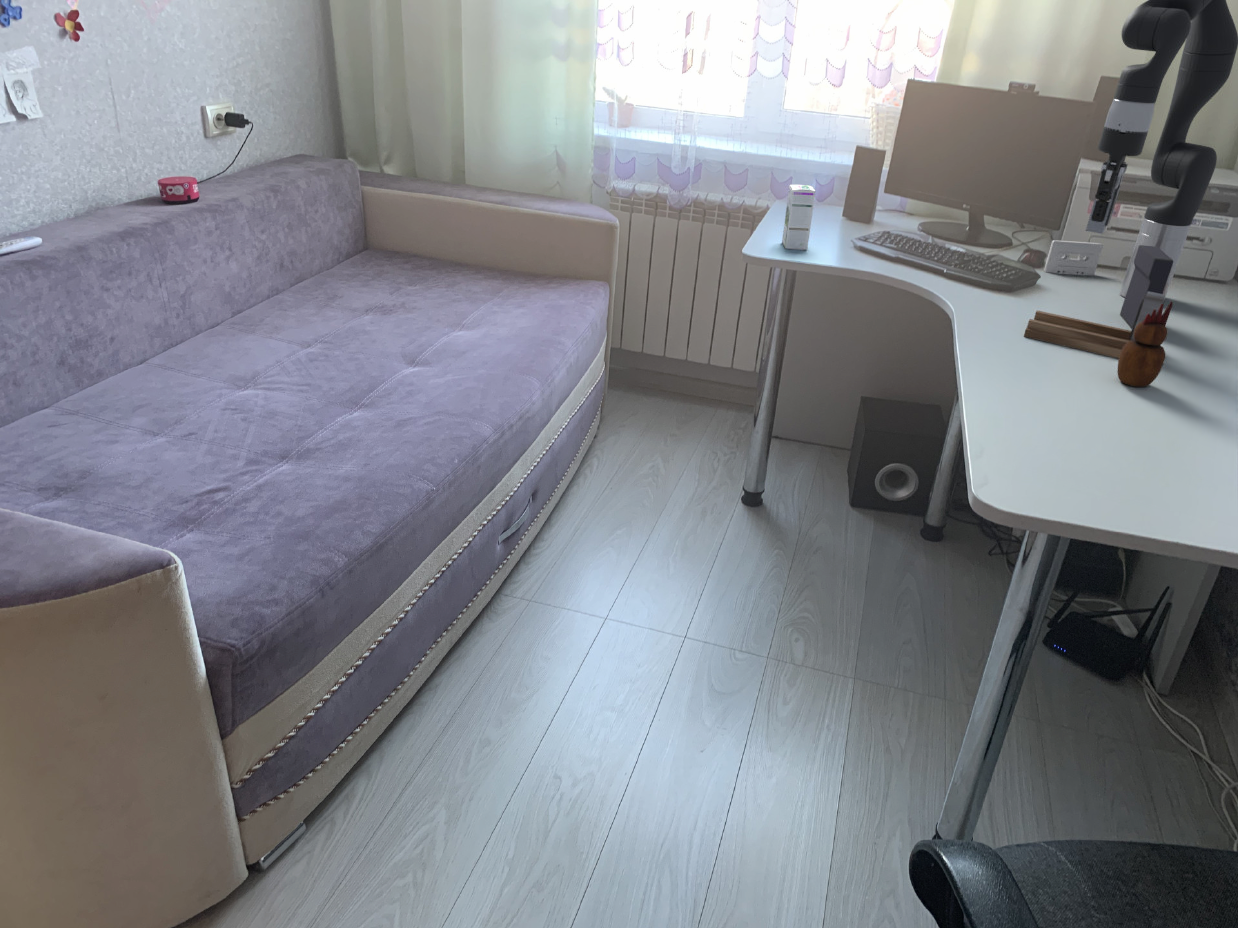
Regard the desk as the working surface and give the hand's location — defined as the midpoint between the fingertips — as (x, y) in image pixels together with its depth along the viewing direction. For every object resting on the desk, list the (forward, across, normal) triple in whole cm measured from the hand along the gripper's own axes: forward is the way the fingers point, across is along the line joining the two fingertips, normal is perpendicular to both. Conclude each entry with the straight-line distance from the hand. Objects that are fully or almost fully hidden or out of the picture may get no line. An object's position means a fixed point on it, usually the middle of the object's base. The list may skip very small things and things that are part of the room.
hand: (1098, 218), depth 182 cm
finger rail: (+21, +11, +6) cm, 25 cm away
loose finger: (+2, 0, 0) cm, 2 cm away
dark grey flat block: (+21, -9, +12) cm, 26 cm away
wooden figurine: (+21, +28, +16) cm, 38 cm away
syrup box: (+21, -13, -66) cm, 71 cm away
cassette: (+22, -40, -6) cm, 46 cm away
